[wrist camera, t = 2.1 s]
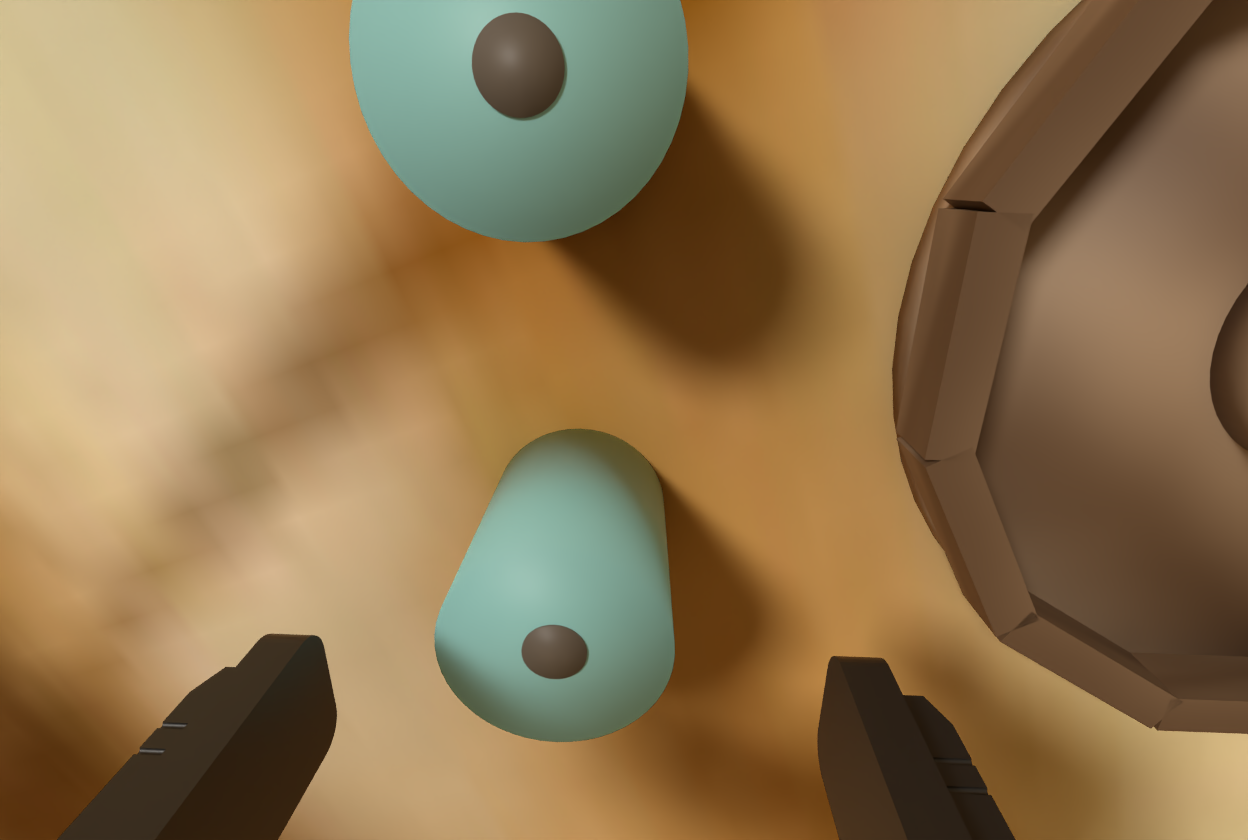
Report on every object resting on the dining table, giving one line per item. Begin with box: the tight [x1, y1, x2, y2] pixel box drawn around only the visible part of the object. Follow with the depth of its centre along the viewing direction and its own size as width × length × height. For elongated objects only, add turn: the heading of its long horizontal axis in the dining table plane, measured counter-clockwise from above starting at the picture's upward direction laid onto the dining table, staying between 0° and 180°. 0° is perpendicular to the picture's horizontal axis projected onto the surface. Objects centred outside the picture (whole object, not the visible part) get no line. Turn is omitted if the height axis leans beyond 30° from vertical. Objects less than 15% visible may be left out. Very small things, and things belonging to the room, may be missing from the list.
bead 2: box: [435, 429, 675, 742], centre depth 14 cm, size 4×4×6 cm
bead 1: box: [349, 0, 688, 242], centre depth 11 cm, size 4×4×6 cm
